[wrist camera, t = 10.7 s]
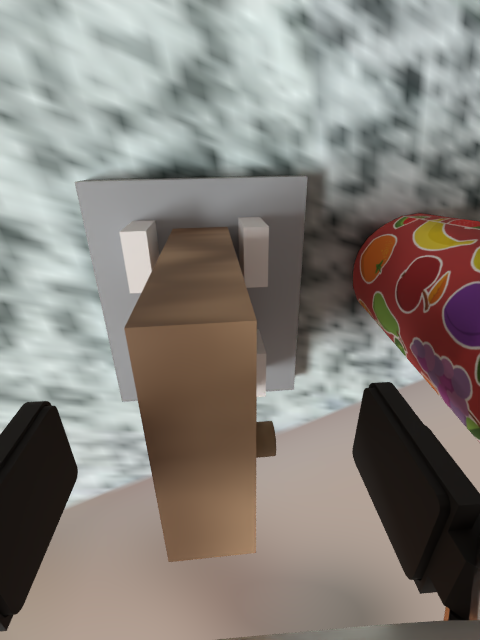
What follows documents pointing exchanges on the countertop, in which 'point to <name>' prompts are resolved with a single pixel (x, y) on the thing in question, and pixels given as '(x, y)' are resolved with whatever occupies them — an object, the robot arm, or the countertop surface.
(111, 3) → the countertop surface
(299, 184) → the hinge base
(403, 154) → the countertop surface
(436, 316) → the smoothie
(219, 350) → the door
